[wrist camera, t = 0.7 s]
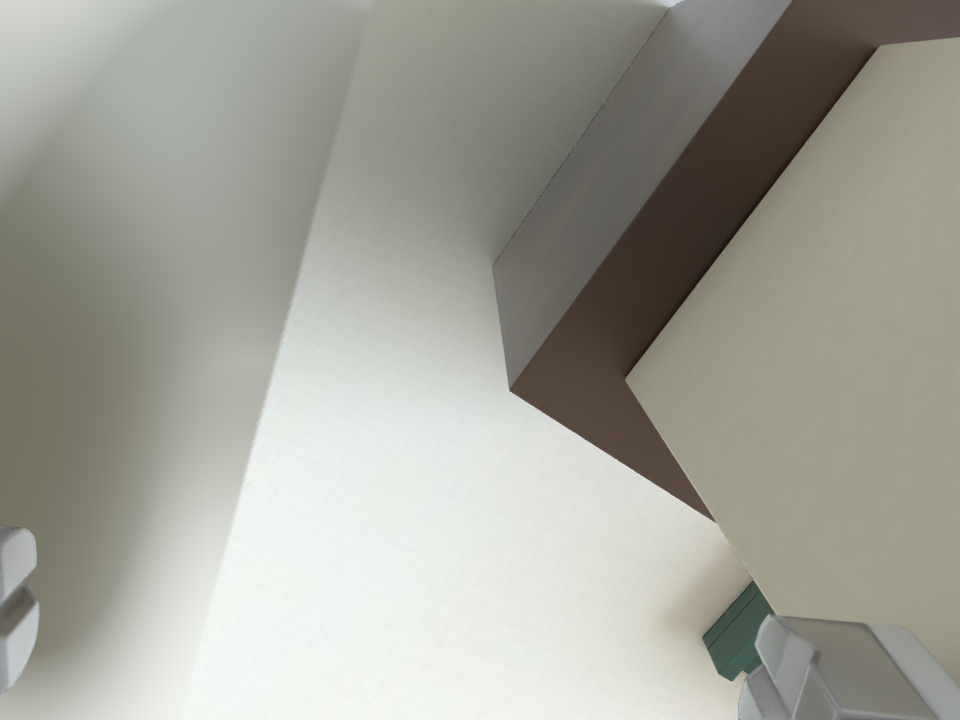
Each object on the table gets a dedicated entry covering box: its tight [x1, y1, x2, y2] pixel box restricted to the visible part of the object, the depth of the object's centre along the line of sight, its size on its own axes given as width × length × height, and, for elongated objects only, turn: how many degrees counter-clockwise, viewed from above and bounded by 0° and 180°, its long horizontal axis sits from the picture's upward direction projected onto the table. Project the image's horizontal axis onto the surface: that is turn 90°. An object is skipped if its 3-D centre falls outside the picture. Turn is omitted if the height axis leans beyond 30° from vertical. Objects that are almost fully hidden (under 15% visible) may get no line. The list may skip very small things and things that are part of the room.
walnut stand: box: [493, 0, 960, 523], centre depth 25 cm, size 14×14×27 cm
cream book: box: [625, 37, 960, 688], centre depth 13 cm, size 10×2×14 cm, turn 146°
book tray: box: [703, 581, 776, 681], centre depth 39 cm, size 16×14×11 cm
